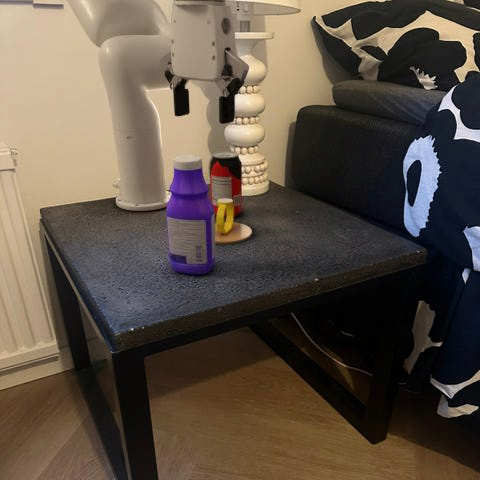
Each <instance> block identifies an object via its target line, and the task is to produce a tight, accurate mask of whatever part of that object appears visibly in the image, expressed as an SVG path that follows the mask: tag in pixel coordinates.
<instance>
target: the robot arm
mask: <svg viewBox="0 0 480 480" xmlns="http://www.w3.org/2000/svg"><path fill="white" fill-rule="evenodd" d="M66 2H67V3H68V5H69V8H70V9H71V11H72V12H73V14H74V16H75V17H76V19H77V20H78V22H79V24H80V26H81V28H82V29H83V31H84V32H85V34H86V35H87V37H88V38H89V40H90V41H91V43H92V44H93V45H94V46H96V48H97V47H98V48H99V50H98V54H97V59H98V60H97V62H98V67H99V71H100V74H101V78H102V81H103V84H104V87H105V91H106V95H107V99H108V105H109V110H110V117H111V122H112V124H111V125H112V130H113V137H114V145H115V151H116V159H117V166H118V174H119V176H118V177H117V180H116V181H113V183H112V187H113V188H116V189H118V190H119V194H118V195H117V196H116V197H115V204H116V206H117V207H119V208H120V209H122V210H125V211H131V212H133V211H134V212H148V211H156V210H160V209H164V208H167V204H168V202H169V199H170V197H171V194H172V193H171V192H170V191H168V190H167V187H166V174H165V173H166V172H165V161H164V151H163V140H162V127H161V119H160V114H159V111H158V108H157V107H156V106H155V104H154V103H153V101H152V100H151V98H150V97H149V95H148V93H147V92H152V91H161V90H171V91H172V96H173V97H172V98H173V112H174V117H184V116H188V115H189V114H190V112H191V109H190V91H189V88H186V87H187V85H188V84H189V82H190V80H192V81H200V82H210V83H215V84H216V86H217V88H218V90H219V91H220V94H221V96H219V97H218V117H219V118H218V122H219V123H220V124H221V125H226V124H231V123H233V122H235V116H236V96H237V95H239V91H240V90H241V89H242V87H243V86H244V85H245V81H246V78H247V75H248V73H249V71H250V65H249V64H248V63H247V62H245V61H244V60H243V59H242V58H241V57H239V56H238V55H237V43H236V30H235V24H234V23H235V22H234V17H233V11H232V7H231V5H227V0H175V1H174V4H173V6H172V13H171V21H170V20H169V19H168V17H167V15H166V14H165V13H164V11H163V9H162V8H161V6H160V5H159V3H158V2H157V1H156V0H66Z"/></svg>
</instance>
